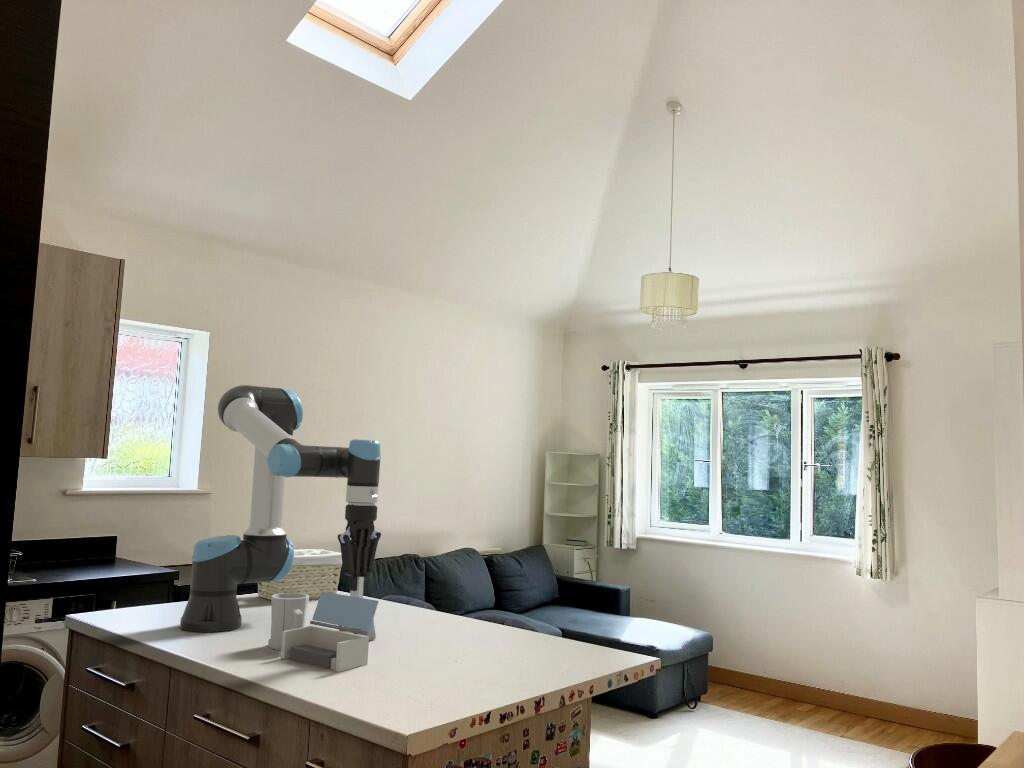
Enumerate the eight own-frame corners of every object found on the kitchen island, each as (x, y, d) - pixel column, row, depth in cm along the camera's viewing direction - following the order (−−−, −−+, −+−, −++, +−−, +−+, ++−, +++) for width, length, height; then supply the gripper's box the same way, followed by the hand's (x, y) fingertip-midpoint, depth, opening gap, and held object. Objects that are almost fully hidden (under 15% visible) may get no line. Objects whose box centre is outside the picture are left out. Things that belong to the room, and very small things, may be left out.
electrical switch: (347, 645, 196) (347, 606, 198) (334, 644, 199) (334, 605, 201) (376, 640, 203) (376, 602, 205) (362, 639, 207) (362, 602, 208)
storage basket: (318, 591, 274) (321, 547, 276) (343, 598, 262) (345, 552, 264) (252, 596, 258) (255, 550, 260) (275, 604, 246) (278, 556, 248)
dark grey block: (289, 660, 180) (290, 647, 180) (303, 657, 183) (304, 644, 184) (333, 671, 173) (333, 656, 173) (346, 667, 176) (346, 653, 176)
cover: (320, 590, 192) (324, 592, 193) (309, 623, 188) (313, 625, 189) (376, 600, 182) (379, 601, 183) (365, 634, 179) (369, 636, 180)
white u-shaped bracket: (280, 658, 181) (282, 631, 182) (310, 651, 189) (312, 625, 189) (338, 672, 172) (340, 643, 172) (367, 664, 179) (369, 636, 180)
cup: (318, 645, 195) (322, 595, 196) (297, 653, 186) (300, 600, 188) (282, 640, 198) (285, 591, 200) (259, 648, 190) (263, 596, 191)
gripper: (354, 505, 184) (348, 610, 182) (391, 504, 195) (386, 603, 193) (330, 503, 188) (324, 606, 186) (368, 502, 199) (362, 599, 197)
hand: (355, 604), depth 189 cm, fingers closed
